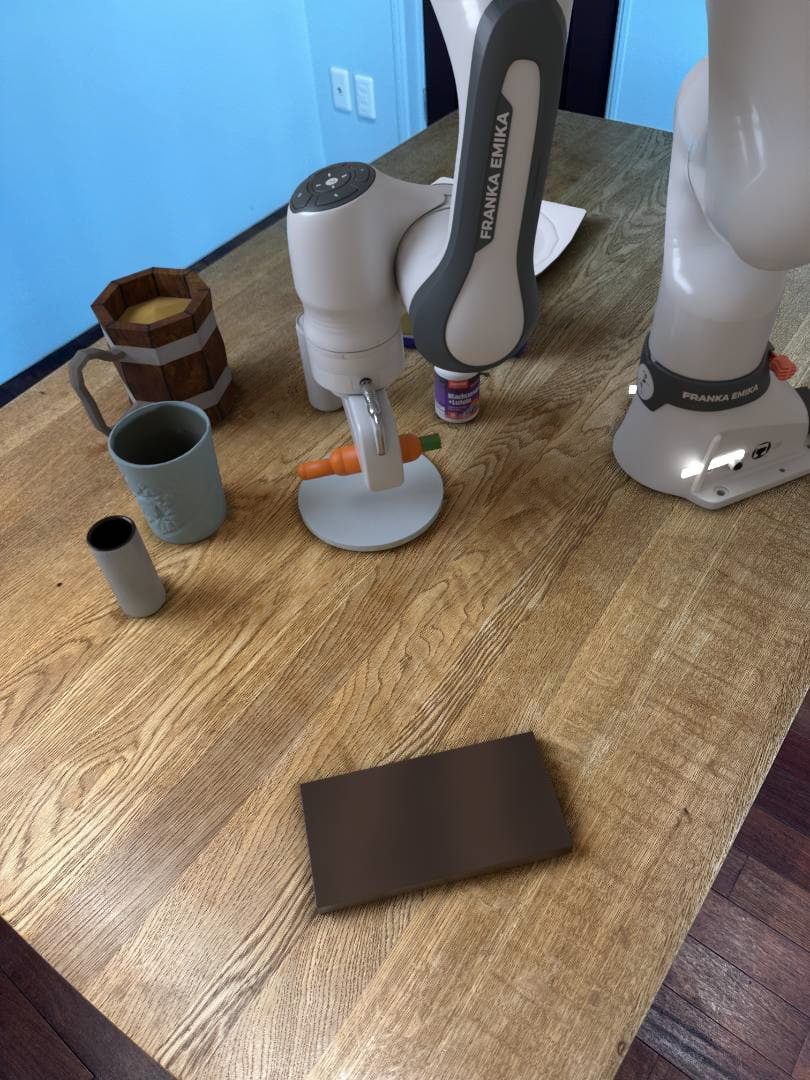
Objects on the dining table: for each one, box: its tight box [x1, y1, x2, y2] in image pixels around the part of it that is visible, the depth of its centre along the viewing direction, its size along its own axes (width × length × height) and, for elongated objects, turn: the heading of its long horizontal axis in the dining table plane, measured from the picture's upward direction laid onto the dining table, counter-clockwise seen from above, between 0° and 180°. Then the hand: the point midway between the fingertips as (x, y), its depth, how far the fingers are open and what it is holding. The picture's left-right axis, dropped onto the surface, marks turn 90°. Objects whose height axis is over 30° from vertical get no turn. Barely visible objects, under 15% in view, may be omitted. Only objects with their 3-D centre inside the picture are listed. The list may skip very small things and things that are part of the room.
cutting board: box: [298, 730, 575, 915], centre depth 65 cm, size 20×10×2 cm, turn 102°
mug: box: [67, 266, 239, 438], centre depth 96 cm, size 20×14×15 cm
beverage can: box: [295, 310, 344, 413], centre depth 97 cm, size 5×5×12 cm
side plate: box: [297, 452, 445, 552], centre depth 89 cm, size 16×16×1 cm
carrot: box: [296, 432, 442, 481], centre depth 85 cm, size 15×3×3 cm, turn 103°
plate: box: [430, 176, 587, 278], centre depth 123 cm, size 29×29×3 cm
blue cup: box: [107, 401, 228, 545], centre depth 85 cm, size 10×10×12 cm
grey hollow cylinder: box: [85, 514, 167, 619], centre depth 78 cm, size 4×4×10 cm
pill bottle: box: [433, 365, 481, 424], centre depth 95 cm, size 5×5×10 cm
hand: (372, 460), depth 85 cm, fingers closed on carrot, 3 cm apart
